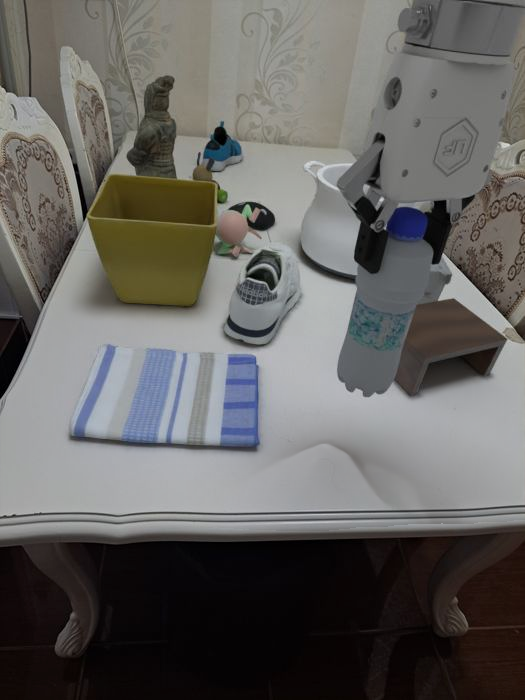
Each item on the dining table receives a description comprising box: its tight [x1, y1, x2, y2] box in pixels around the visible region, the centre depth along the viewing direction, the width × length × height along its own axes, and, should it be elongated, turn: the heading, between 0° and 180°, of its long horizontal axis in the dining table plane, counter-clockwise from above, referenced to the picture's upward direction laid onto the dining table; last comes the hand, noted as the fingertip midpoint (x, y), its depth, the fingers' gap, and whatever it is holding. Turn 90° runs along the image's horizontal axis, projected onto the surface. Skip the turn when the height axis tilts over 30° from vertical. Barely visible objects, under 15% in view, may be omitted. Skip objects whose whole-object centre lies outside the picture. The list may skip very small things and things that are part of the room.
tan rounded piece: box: [192, 151, 229, 203], centre depth 122 cm, size 9×9×11 cm
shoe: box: [201, 120, 243, 172], centre depth 148 cm, size 9×23×12 cm, turn 164°
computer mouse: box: [227, 201, 276, 231], centre depth 116 cm, size 8×12×4 cm, turn 62°
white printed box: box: [417, 256, 454, 305], centre depth 89 cm, size 10×8×10 cm
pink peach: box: [215, 204, 262, 258], centre depth 102 cm, size 12×10×9 cm
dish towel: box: [68, 343, 260, 447], centre depth 65 cm, size 17×24×3 cm
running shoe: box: [223, 241, 301, 345], centre depth 85 cm, size 11×29×12 cm, turn 170°
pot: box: [299, 160, 430, 280], centre depth 101 cm, size 28×24×17 cm
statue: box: [125, 74, 178, 179], centre depth 102 cm, size 11×9×30 cm
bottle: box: [336, 207, 433, 398], centre depth 48 cm, size 7×7×20 cm
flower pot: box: [86, 173, 218, 307], centre depth 84 cm, size 19×19×17 cm
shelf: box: [394, 297, 508, 397], centre depth 77 cm, size 12×16×7 cm
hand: (396, 260), depth 45 cm, fingers closed on bottle, 6 cm apart
